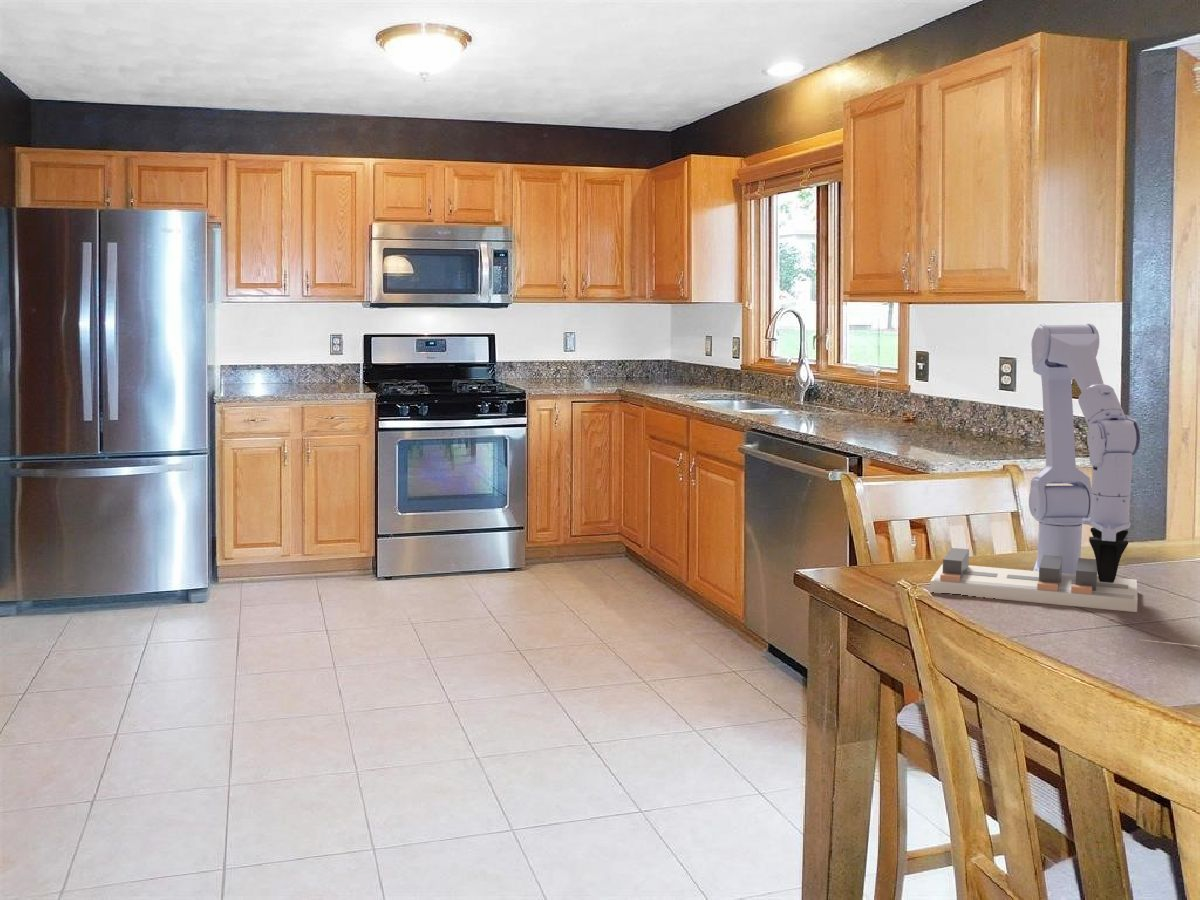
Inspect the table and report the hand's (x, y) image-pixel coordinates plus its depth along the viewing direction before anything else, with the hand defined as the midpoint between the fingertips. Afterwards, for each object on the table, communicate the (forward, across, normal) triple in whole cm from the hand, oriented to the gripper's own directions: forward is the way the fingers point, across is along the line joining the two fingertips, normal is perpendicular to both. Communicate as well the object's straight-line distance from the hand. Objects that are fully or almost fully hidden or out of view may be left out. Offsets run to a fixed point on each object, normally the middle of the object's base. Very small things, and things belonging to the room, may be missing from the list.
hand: (1106, 576), depth 180 cm
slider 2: (+1, 0, -3) cm, 3 cm away
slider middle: (+1, 0, -8) cm, 9 cm away
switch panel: (+3, +1, -11) cm, 12 cm away
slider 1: (+1, 0, -24) cm, 24 cm away
